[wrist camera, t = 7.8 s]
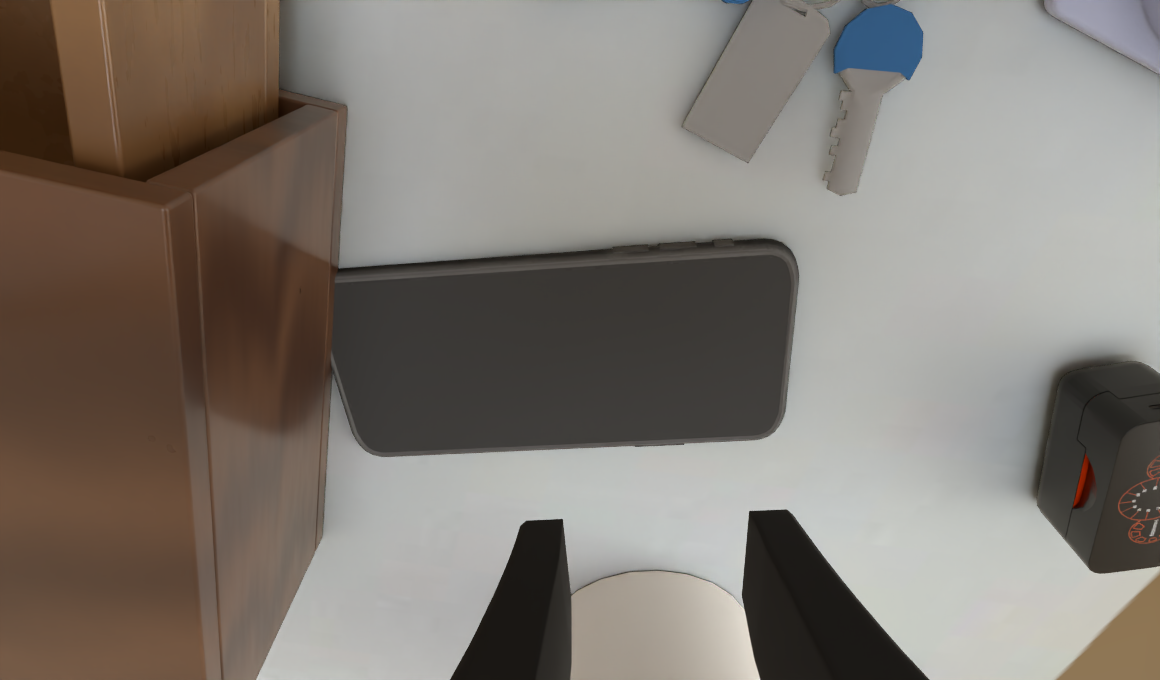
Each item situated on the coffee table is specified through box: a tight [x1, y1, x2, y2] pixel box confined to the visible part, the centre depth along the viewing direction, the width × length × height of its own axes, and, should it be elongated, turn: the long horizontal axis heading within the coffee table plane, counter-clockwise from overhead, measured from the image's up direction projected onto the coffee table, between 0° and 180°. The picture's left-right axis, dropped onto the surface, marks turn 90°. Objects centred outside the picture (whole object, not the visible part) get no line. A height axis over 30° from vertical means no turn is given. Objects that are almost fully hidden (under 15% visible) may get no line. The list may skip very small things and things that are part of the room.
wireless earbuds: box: [1037, 361, 1160, 574], centre depth 21 cm, size 5×7×3 cm, turn 12°
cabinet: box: [0, 89, 347, 680], centre depth 17 cm, size 17×13×9 cm
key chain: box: [682, 0, 923, 196], centre depth 16 cm, size 14×8×1 cm, turn 114°
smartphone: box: [331, 239, 799, 457], centre depth 21 cm, size 7×1×15 cm
